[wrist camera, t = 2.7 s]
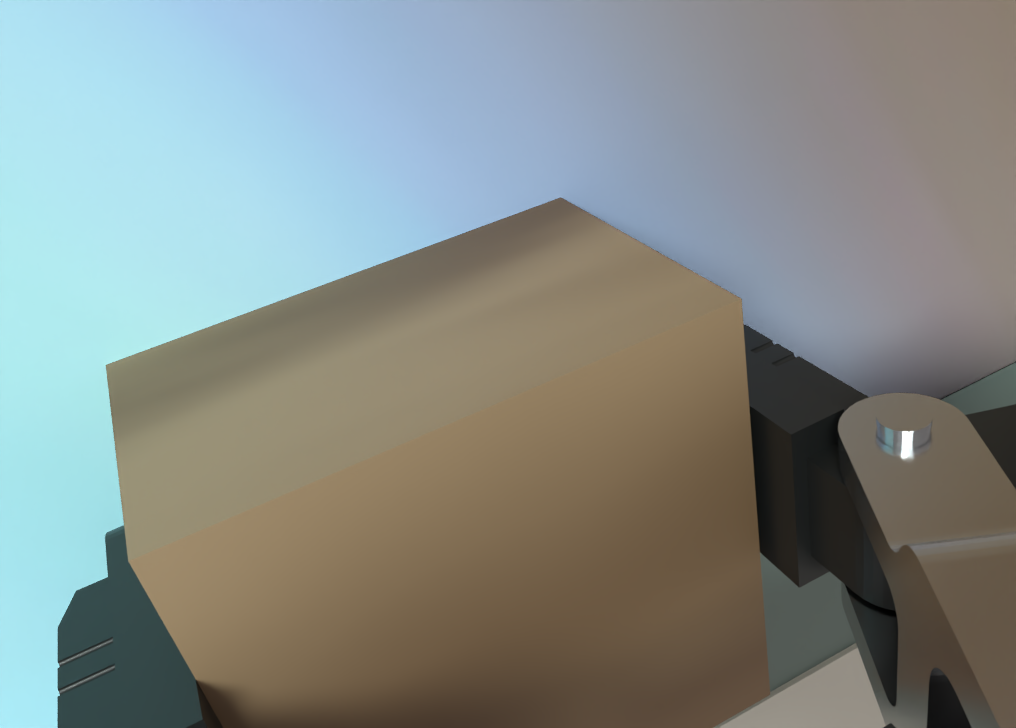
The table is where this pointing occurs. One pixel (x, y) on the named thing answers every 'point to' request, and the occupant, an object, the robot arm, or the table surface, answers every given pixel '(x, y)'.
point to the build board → (831, 628)
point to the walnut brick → (458, 492)
